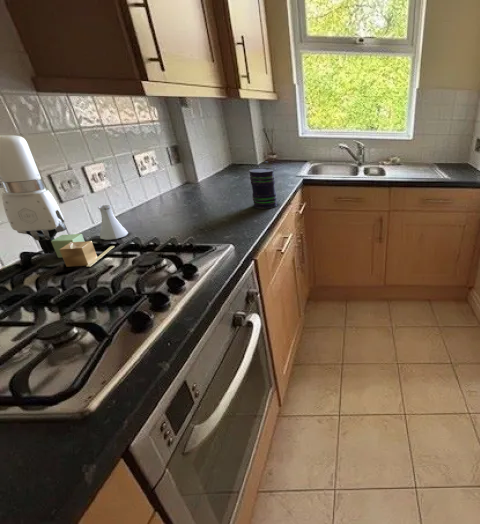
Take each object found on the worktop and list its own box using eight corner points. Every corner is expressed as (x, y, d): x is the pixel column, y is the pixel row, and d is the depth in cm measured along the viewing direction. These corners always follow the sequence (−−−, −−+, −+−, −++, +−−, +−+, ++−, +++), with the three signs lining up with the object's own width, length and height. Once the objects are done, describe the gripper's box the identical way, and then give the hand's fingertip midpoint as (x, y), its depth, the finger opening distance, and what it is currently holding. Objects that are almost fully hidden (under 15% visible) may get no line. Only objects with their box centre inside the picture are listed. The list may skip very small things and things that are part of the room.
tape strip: (86, 266, 87) (86, 266, 87) (110, 246, 99) (110, 246, 99) (90, 266, 87) (90, 265, 87) (114, 246, 99) (114, 246, 99)
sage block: (57, 257, 92) (50, 241, 90) (68, 250, 96) (61, 234, 94) (78, 256, 93) (72, 239, 91) (88, 249, 97) (82, 233, 95)
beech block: (66, 266, 87) (59, 249, 85) (76, 259, 91) (70, 242, 89) (88, 265, 88) (81, 248, 86) (97, 257, 92) (91, 241, 90)
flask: (112, 232, 110) (102, 202, 106) (133, 232, 110) (124, 203, 106) (94, 240, 104) (83, 209, 100) (117, 240, 104) (107, 209, 99)
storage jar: (264, 210, 137) (258, 165, 129) (248, 206, 142) (242, 162, 134) (282, 204, 144) (278, 162, 137) (267, 201, 149) (262, 160, 142)
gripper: (-24, 190, 80) (9, 259, 88) (49, 189, 84) (75, 255, 91) (-1, 184, 87) (28, 248, 95) (66, 182, 90) (89, 245, 98)
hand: (51, 251), depth 93 cm, fingers closed
